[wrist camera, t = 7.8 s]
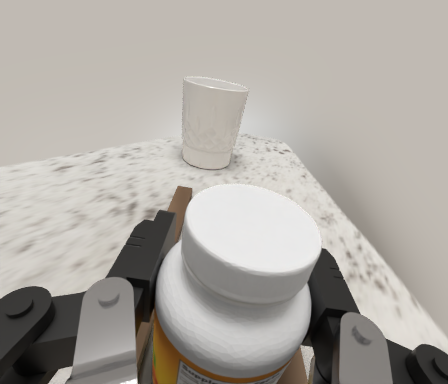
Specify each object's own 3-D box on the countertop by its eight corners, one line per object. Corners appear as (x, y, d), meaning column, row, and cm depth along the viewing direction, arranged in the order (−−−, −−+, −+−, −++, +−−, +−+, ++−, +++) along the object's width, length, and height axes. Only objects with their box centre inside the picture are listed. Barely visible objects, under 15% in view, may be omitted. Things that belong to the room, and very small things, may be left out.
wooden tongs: (43, 518, 8) (35, 513, 7) (176, 194, 25) (177, 185, 24) (331, 545, 8) (345, 542, 8) (266, 208, 25) (269, 200, 25)
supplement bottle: (173, 308, 14) (188, 161, 9) (261, 329, 14) (324, 190, 9) (130, 431, 10) (115, 266, 5) (261, 464, 9) (390, 330, 4)
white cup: (218, 147, 38) (229, 80, 33) (243, 170, 33) (261, 93, 27) (170, 149, 35) (174, 73, 29) (189, 174, 29) (198, 87, 24)
